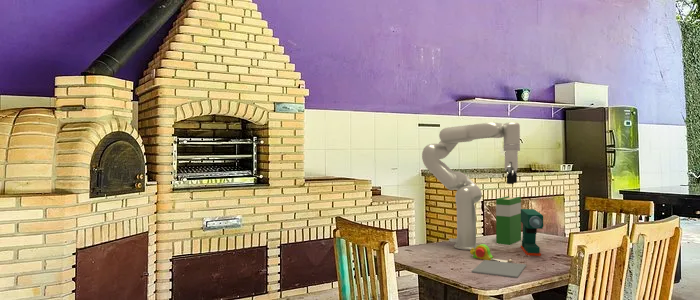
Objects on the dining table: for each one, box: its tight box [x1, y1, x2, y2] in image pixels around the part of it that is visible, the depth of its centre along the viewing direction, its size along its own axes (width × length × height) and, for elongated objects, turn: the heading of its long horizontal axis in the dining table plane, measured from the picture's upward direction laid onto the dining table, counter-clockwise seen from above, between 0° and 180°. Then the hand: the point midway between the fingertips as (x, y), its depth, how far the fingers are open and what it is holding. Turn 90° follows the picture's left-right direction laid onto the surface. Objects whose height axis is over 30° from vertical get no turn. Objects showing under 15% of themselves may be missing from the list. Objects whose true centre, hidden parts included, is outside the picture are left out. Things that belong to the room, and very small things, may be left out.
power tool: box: [520, 208, 544, 257], centre depth 226 cm, size 32×7×20 cm, turn 168°
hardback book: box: [495, 196, 522, 246], centre depth 258 cm, size 18×7×24 cm, turn 141°
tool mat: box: [471, 260, 527, 279], centre depth 199 cm, size 18×22×1 cm
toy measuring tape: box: [469, 243, 513, 263], centre depth 217 cm, size 6×19×7 cm, turn 51°
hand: (511, 183), depth 229 cm, fingers open, 9 cm apart
